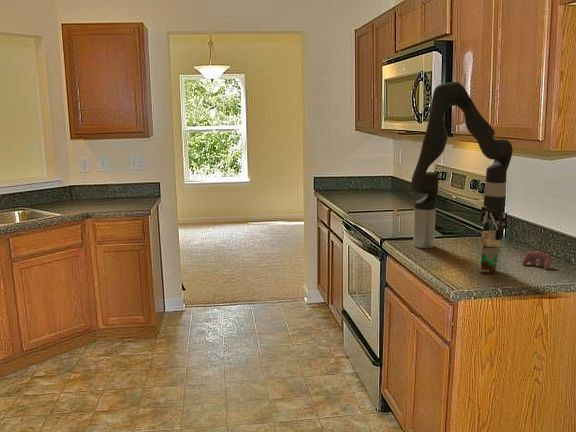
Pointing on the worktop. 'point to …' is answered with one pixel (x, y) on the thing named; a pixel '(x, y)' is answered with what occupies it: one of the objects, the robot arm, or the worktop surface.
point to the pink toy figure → (535, 255)
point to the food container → (489, 259)
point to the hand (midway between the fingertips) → (492, 236)
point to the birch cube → (490, 239)
